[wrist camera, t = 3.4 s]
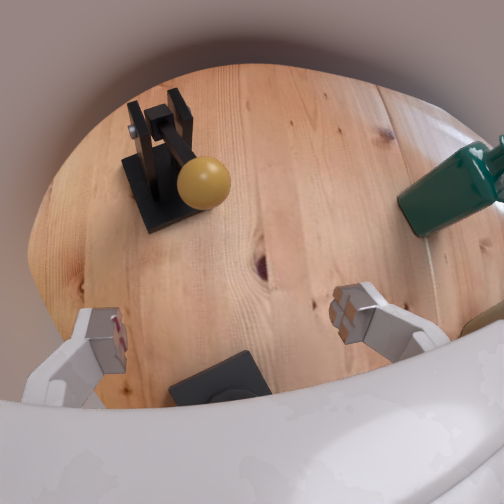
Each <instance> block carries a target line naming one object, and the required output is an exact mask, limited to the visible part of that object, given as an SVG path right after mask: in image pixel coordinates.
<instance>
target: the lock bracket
mask: <svg viewBox="0 0 504 504" xmlns="http://www.w3.org/2000/svg"><path fill="white" fill-rule="evenodd" d="M167 96H168V108H169V109H170V110H171V111H172V112H173V115H174V121H175V127H176V131H177V133H178V134H179V135H180V136H181V138H182V139H183V140H184V141H185V143H186V144H187V145H188V147H189V148H190V149H191V150H192V132H193V116H192V114H191V110H190V108H189V107H188V106H187V105H186V103H185V101H184V100H183V98H182V96H181V94H180V92H179V90H178V88H173V89H170V90H167ZM127 107H128V112H129V117H130V122H131V125H129V126H128V129H129V133H130V136H131V138H132V139H134V141H135V145H136V150H137V154H134V155H132V156H129V157H127V158H125V159H122V160H121V161H122V164H123V167H124V170H125V173H126V176H127V179H128V181H129V184H130V187H131V190H132V192H133V195H134V198H135V200H136V203H137V205H138V208H139V211H140V213H141V216H142V218H143V221H144V223H145V226H146V228H147V231H148V233H149V234H151V233H153V232H155V231H158V230H160V229H162V228H165V227H167V226H169V225H172V224H174V223H176V222H179V221H181V220H183V219H186V218H188V217H191V216H193V215H195V214H198V213H200V212H203V211H205V210H199V209H195V208H192V207H191V206H189V205H187V204H186V203H185V202H184V201H183V200H182V198H181V196H180V194H179V192H178V188H177V180H178V175H179V173H180V171H181V169H182V167H181V166H180V164H179V163H178V161H177V160H176V158H175V157H174V155H173V154H172V152H171V151H170V149H169V148H168V146H167V145H166V143H164V144H161V145H158V146H155V147H153V148H152V142H151V135H150V131H149V128H148V126H147V124H146V121H145V119H144V116H143V114H142V111H141V109H140V107H139V104H138V102H137V100H136V101H133V102H130V103H127Z"/></svg>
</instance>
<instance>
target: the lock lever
mask: <svg viewBox="0 0 504 504" xmlns="http://www.w3.org/2000/svg"><path fill="white" fill-rule="evenodd" d="M144 115H145V119H146V123H147V126H148V128H149V131H150V134H151V136H152V138H153V139H154V141H155V142H156V141H159V140H162V139H163V140H164V142H165V143H166V145H167V146H168V148H169V149H170V151H171V152H172V154H173V155H174V157H175V158H176V160H177V161H178V163H179V164H180V166H181V167H182V169H181V171H180V173H179V175H178V180H177V188H178V192H179V194H180V196H181V198H182V200H183V201H184V202H185V203H186V204H187V205H189V206H191V207H192V208H195V209H199V210H208V209H212V208H215V207H217V206H218V205H220V204H221V203H222V202H223V201H224V200H225V199H226V197H227V196H228V194H229V191H230V187H231V178H230V174H229V172H228V170H227V168H226V167H225V165H224V164H223V163H221V162H220V161H219V160H217V159H215V158H212V157H206V156H204V157H196V156H195V154H194V153H193V152H192V150H191V149H190V148H189V147H188V145H187V144H186V143H185V141H184V140H183V139H182V138H181V136H180V135H179V134H178V133H177V131H176V127H175V121H174V115H173V112H172V111H171V110H170V109H169V108H168V107H167V105H166V104H161V105H158V106H155V107H152V108H149V109H146V110H144Z"/></svg>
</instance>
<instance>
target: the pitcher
mask: <svg viewBox="0 0 504 504" xmlns="http://www.w3.org/2000/svg"><path fill="white" fill-rule="evenodd" d="M499 142H500V145H498V146H497V147H495V148H494V149H492V150H489V148H488V147H487V146H486V145H485V144H484V143H482V142H480V141H475V142H473V143H471V144H469V145H467V146H465V147H463V148H461V149H459V150H458V151H457V152H455V153H454V154H453V155H451V156H450V157H449V158H447V159H446V160H445V161H443V162H442V163H441V164H439V165H438V166H437V167H435V168H434V169H433V170H431V171H430V172H429V173H427V174H426V175H424V176H423V177H422V178H420V179H419V180H418V181H416V182H415V183H413V184H412V185H411V186H409V187H408V188H407V189H405V190H404V191H402V192H401V193H400V195H399V204H400V207H401V208H402V210H403V212H404V214H405V215H406V217H407V219H408V221H409V223H410V224H411V226H412V228H413V230H414V232H415V233H416V234H417V235H418V236H420V237H422V238H426V237H428V236H430V235H432V234H434V233H437V232H439V231H441V230H443V229H445V228H447V227H449V226H451V225H453V224H455V223H457V222H459V221H461V220H463V219H465V218H467V217H469V216H471V215H473V214H475V213H477V212H479V211H481V210H483V209H485V208H487V207H488V206H490V205H492V204H493V203H494V202H495V201H499V202H503V203H504V135H503V134H502V135H500V137H499Z"/></svg>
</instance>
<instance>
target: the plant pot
mask: <svg viewBox="0 0 504 504" xmlns="http://www.w3.org/2000/svg"><path fill="white" fill-rule="evenodd" d="M497 320H504V301H502V302H500V303H498V304H497V305H495V306H493V307H491V308H490V309H488V310H486V311H485V312H483V313H482V314H480V315H479V316H477V317H476V318H474V319H473V320H471V321H470V322H468V323H467V324H466V325H465V327H464V329H463V331H462V334H461V337H463V336H465V335H468V334H470V333H472V332H474V331H476V330H478V329H481V328H483V327H485V326H487V325H489V324H491V323H493V322H495V321H497Z"/></svg>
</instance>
